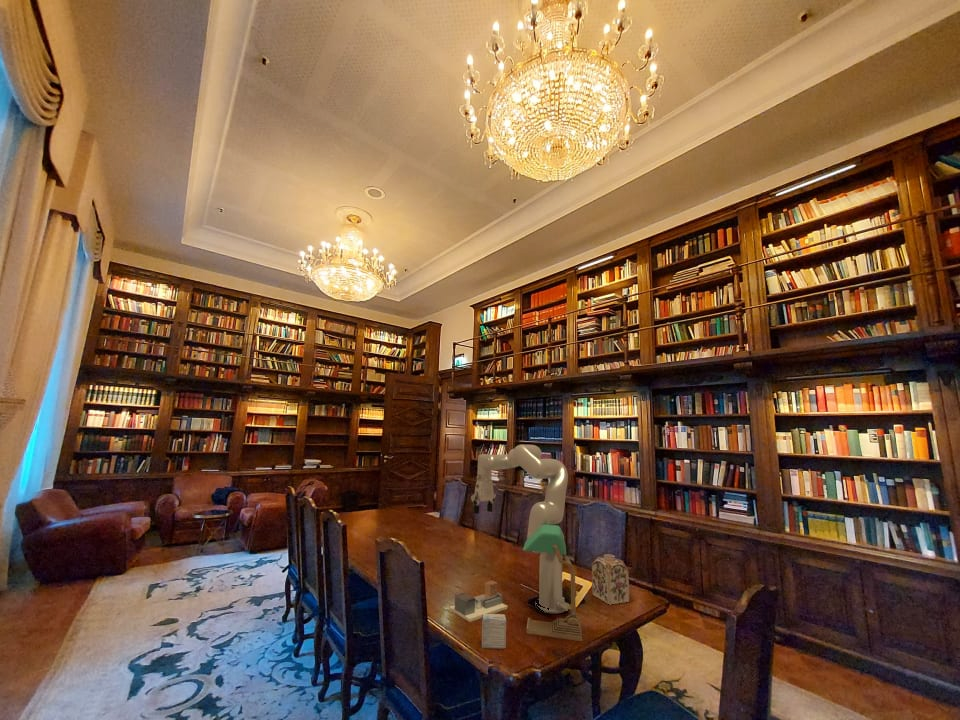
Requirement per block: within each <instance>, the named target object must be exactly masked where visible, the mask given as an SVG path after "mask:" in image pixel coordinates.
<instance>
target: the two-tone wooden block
mask: <svg viewBox="0 0 960 720" xmlns="http://www.w3.org/2000/svg"><path fill="white" fill-rule="evenodd" d="M497 593H498V582H496V581H494V580H489V581H485V582H484V594H480V595H479V594H478V595H476V596H473V597H474V598H475V608H477V609H478V608H481V607H484V602H485V601H488V600H491V599H494V598H497V597H498V594H497Z"/></svg>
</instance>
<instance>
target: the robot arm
mask: <svg viewBox="0 0 960 720" xmlns="http://www.w3.org/2000/svg"><path fill="white" fill-rule="evenodd" d="M542 456H543V455H542V450H541V449H540V447H539V446H537V445H536V444H518V445H516V446H515V447H514V448H512V449H510V450H509V452H508V453H506V454H505V453H504V454H487V453H483V454H481V453H480V454H479V455H478V457H477V473H476V474H477V476H476V482H475V487H474V493H473V494H471V496H470V499H471V502H472V504H473V514H479V513H480V503H481V502H487V503H486V505H487V509H486V510H487V512H489V513H493V504H494V503H495V500H496V497H497V494H496V493H495V492H494V483H493V480H492V471H493V470H509V469H513V468H517V467H521V468H522V469H523V470H524V471H525V472H526V473H527V474H528V475H529V476H530V477H532V478H534V479H538V480H540V479H549V481H548V484H547V486H546V488H545V497H544V501H539V502H536V503H535V504H534V505H532V507H531V509H530V512H529V517H528V518H529V520H528V527H527V528H528V529H527V536H526V541H527V540H528V539H529V538H530V537H531V536H532V535H533V534H534V533H535V532H536V531H537V530H538V529H539V528H540V527H541V526H542V525H556V524H560V523H561V522H562V521H563V519H564V516H565V505H566V504H565V502H566V495H567V493H566V491H567V489H568V488H567V487H568V480H569V474H568V470H567V468H566V466H565V464H564V463H563V462H562V461H560V460H558V459H556V458H555V459H554V458H542ZM562 534H563V537H564V538H565V536H564V533H563V531H562ZM532 552H533V553H534V554H540V555H539V571H538V573H539V577H538V578H539V579H538V580H539V581H538V582H539V588H538V589H539V591H538V592H539V594H538V595H539V596H538V597H539V598H538V600H539V604H540V605H541V606H543V607H545V608H543V607H540V606H538V605H537V606H538V607H539V608H540V609H541V610H543V611H544V612H543V611H542V612H543V613H548V614H561V613H564V612H567V611H569V607H570V603H568V602H566V601H565V597H564V596H563V564H562V563H560V562H559V561H558V558H557V555H556V554H555V553H545V552H535V551H532ZM561 556H562V555H561ZM536 604H537V603H536V602H535V605H536ZM547 608H549V610H548V609H547ZM541 610H540V611H541Z"/></svg>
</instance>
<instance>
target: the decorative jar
mask: <svg viewBox="0 0 960 720" xmlns="http://www.w3.org/2000/svg"><path fill="white" fill-rule="evenodd" d="M629 577H630V576H629V569H628V567H627V565H626V564H625V562H624V561H623V560H621V559H618V558H616V557H615V555H613V554H610V553H608V554H607V553H606V554H603V556H598V557H596V558H595V560H594V561H593V562H592V563H591V589H592V596H593V597H595V598H597V599H598V600H600V601H602V602H603V601H604V603H605V604H607V605H608V604H609V606H611V605H612V604H613V605H618V604H619V603H620V604H626V602H627V603H630V581H629Z"/></svg>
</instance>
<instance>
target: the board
mask: <svg viewBox="0 0 960 720" xmlns="http://www.w3.org/2000/svg"><path fill="white" fill-rule="evenodd" d="M497 594H498V597H497V598H494V599H491V600H488V601H485V602H484V607H481V608H478V609H477V608H475V613H472V614H469V615H466V616H465V615H463V614H461V613H460V612H458V611H456V610H455V609H454V608H455V604H454V605H450V606H449V611H451V612H453V613H454V614H456V615H458V616H459V617H461V618H462V619H464V620H465V621H467V622H469V623H472V622H474V621H476V620H479V619H482V614H498V613H500V612H502V611H505V610H507V609H508V605H507V604H505V603H503V594H502V593H499V592H497Z"/></svg>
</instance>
